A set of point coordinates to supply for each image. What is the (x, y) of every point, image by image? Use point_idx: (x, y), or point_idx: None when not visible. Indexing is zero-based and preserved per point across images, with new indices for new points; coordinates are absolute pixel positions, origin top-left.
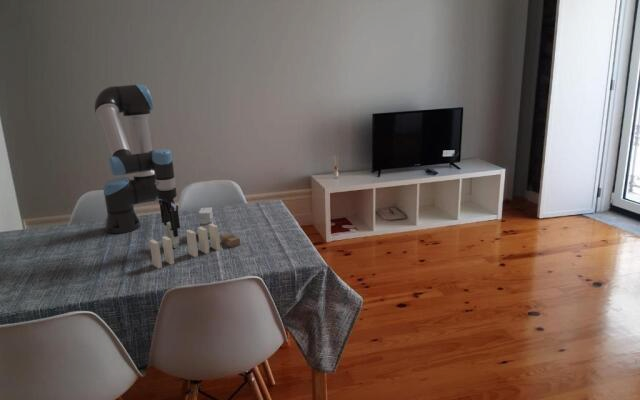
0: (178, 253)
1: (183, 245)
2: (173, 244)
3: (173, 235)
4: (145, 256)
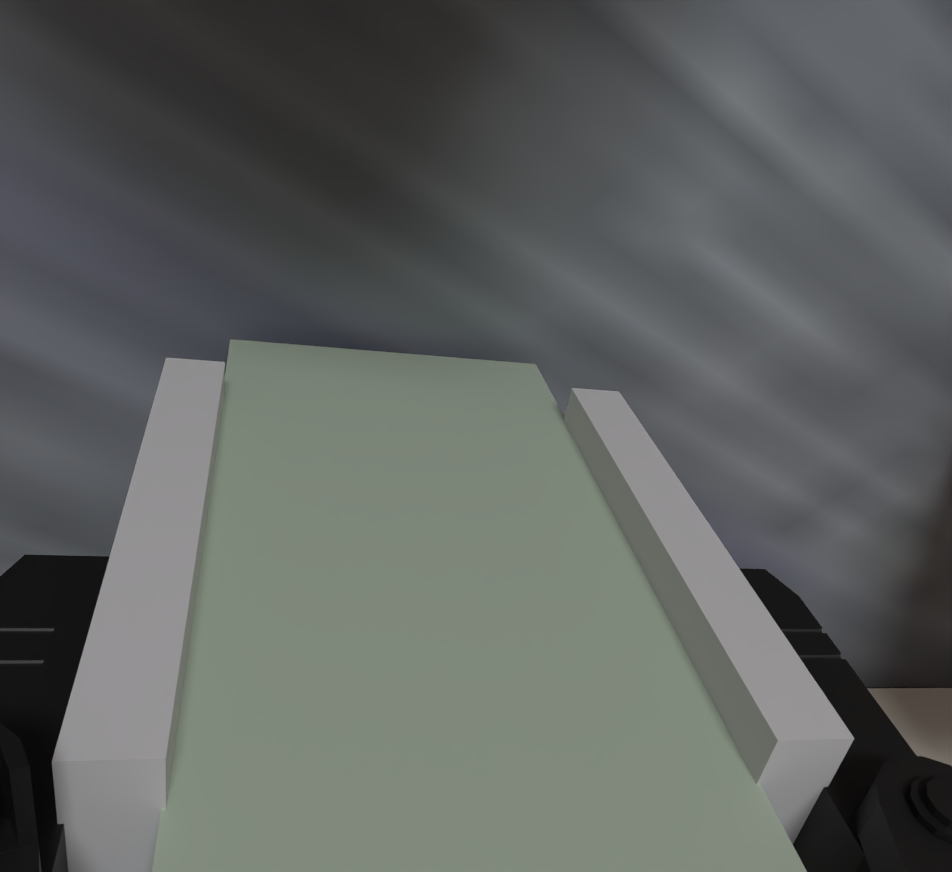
0: (783, 492)
1: (512, 183)
2: None
3: None
4: None
